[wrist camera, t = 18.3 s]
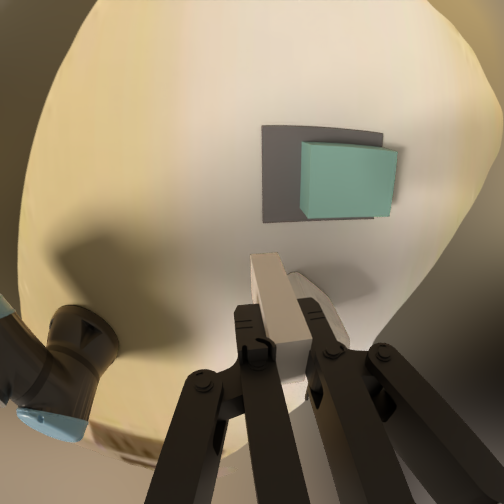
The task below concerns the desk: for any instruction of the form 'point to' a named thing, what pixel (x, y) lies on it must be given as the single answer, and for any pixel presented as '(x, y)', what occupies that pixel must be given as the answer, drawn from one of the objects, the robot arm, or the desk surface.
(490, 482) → the robot arm
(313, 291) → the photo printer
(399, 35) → the desk surface
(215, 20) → the desk surface
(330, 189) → the block
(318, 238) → the desk surface
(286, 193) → the mat
